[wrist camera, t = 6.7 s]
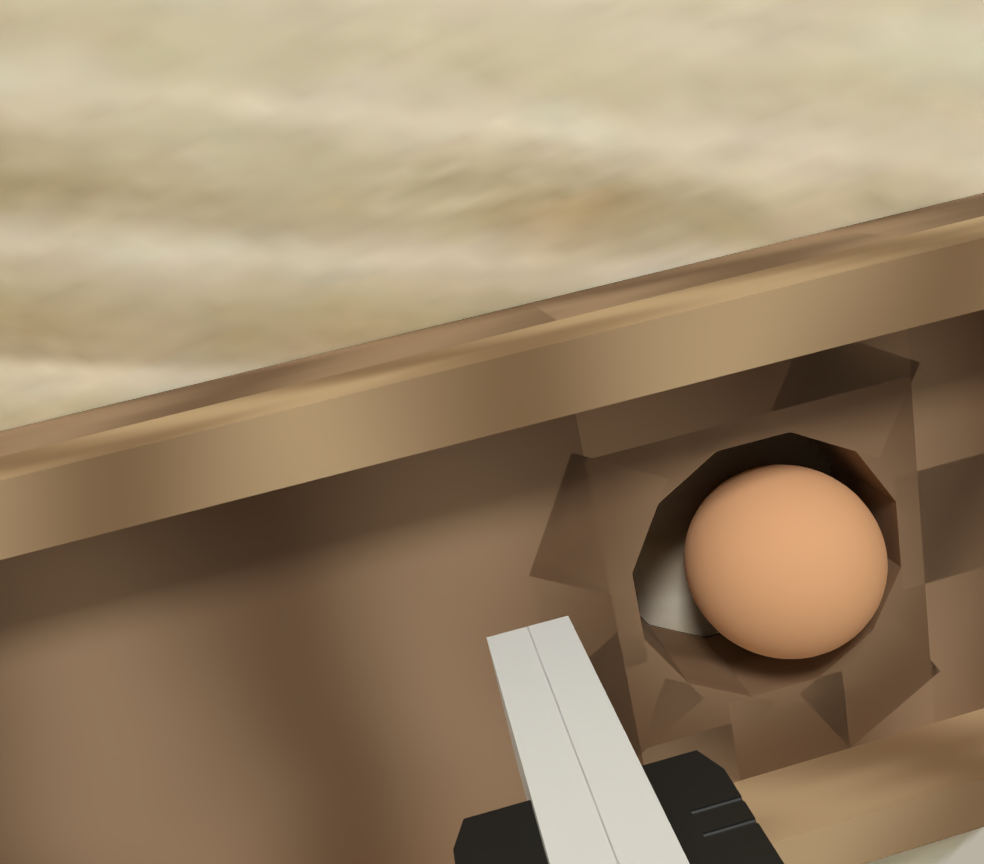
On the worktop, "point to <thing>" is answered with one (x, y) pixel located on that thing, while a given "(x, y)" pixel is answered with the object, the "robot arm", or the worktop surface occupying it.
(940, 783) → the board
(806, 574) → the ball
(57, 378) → the worktop surface
